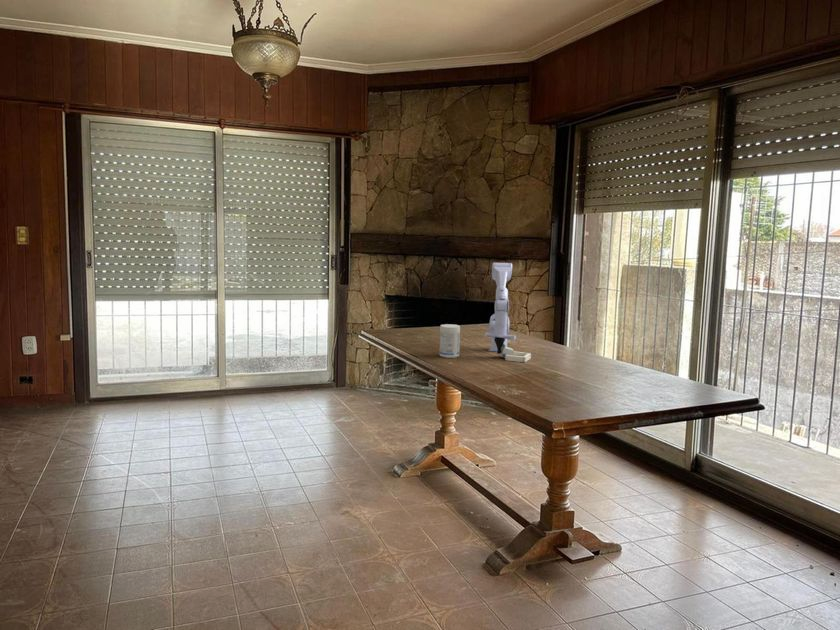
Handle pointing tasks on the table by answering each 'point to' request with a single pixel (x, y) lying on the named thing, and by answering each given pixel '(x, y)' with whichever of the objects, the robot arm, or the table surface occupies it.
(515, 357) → the bay
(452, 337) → the supplement tub
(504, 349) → the white box with knobs
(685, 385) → the table surface
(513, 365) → the table surface
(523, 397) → the table surface
